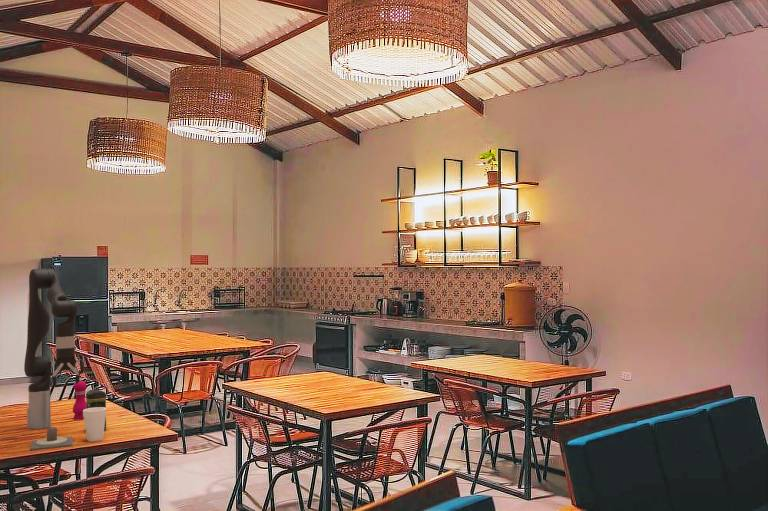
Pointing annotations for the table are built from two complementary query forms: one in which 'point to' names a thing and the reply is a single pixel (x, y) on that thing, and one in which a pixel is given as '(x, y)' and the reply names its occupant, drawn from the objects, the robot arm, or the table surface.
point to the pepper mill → (79, 400)
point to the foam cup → (94, 423)
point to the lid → (51, 438)
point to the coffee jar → (96, 400)
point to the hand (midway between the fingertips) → (66, 384)
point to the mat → (68, 443)
